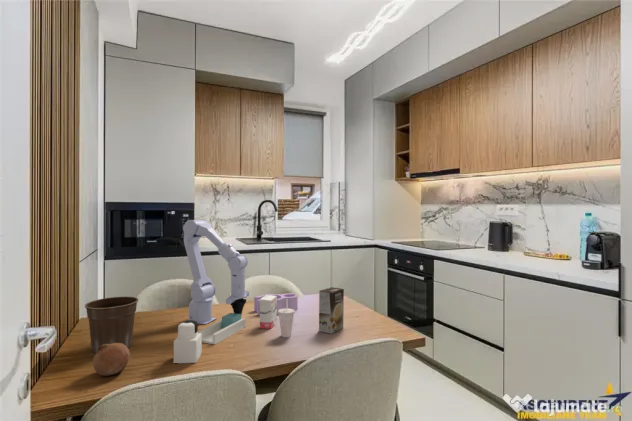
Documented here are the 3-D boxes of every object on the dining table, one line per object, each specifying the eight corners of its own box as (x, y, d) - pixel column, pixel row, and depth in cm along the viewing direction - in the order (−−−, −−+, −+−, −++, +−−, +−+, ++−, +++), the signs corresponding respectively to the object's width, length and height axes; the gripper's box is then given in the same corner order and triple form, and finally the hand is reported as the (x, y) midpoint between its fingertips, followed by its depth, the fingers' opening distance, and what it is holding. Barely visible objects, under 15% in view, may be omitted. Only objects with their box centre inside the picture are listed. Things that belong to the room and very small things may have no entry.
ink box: (270, 329, 141) (270, 300, 141) (259, 328, 142) (259, 299, 142) (277, 322, 149) (277, 295, 149) (266, 321, 150) (266, 294, 150)
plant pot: (104, 338, 130) (104, 295, 130) (147, 339, 130) (147, 296, 130) (73, 357, 114) (72, 307, 114) (121, 357, 114) (121, 308, 114)
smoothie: (297, 333, 136) (297, 298, 136) (290, 339, 130) (290, 302, 130) (282, 331, 138) (282, 296, 138) (275, 337, 132) (275, 300, 132)
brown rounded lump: (96, 387, 101) (78, 359, 99) (119, 364, 110) (102, 338, 108) (121, 380, 98) (103, 351, 96) (142, 357, 107) (126, 330, 105)
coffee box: (331, 334, 136) (332, 293, 135) (318, 330, 139) (318, 290, 139) (344, 327, 143) (344, 288, 143) (330, 324, 147) (331, 286, 147)
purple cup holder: (292, 305, 176) (292, 291, 176) (300, 312, 165) (300, 297, 165) (253, 309, 169) (253, 295, 169) (258, 317, 157) (258, 301, 157)
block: (230, 323, 145) (230, 312, 145) (240, 325, 143) (240, 314, 143) (221, 328, 139) (221, 316, 139) (232, 329, 138) (232, 318, 138)
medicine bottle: (179, 354, 116) (179, 318, 116) (201, 353, 117) (201, 318, 117) (172, 364, 109) (173, 325, 109) (196, 363, 110) (196, 325, 110)
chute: (228, 324, 146) (228, 316, 146) (245, 326, 144) (245, 318, 144) (197, 341, 128) (197, 331, 128) (215, 344, 125) (215, 334, 125)
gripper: (236, 289, 137) (236, 323, 137) (255, 281, 151) (255, 313, 151) (221, 287, 140) (221, 321, 140) (241, 280, 153) (241, 311, 153)
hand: (237, 317), depth 146 cm, fingers closed
